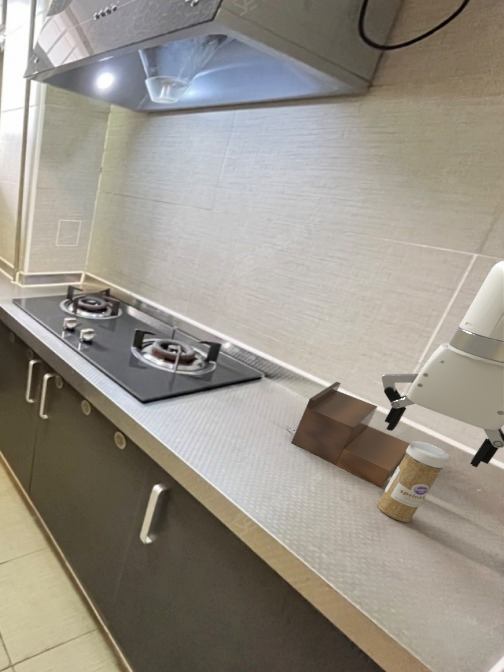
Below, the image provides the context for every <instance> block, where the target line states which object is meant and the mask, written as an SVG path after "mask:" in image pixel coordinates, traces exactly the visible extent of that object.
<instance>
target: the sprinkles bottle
mask: <svg viewBox="0 0 504 672" xmlns="http://www.w3.org/2000/svg"><path fill="white" fill-rule="evenodd" d="M409 443H410V445H409V446H408V448H407V450H406V454H405V455H404V457H403V458H402V459H401V461H400V462H399V465H397V466H396V469H395V470H394V472H393V475H391V478H390V480H389V482H388V483H387V484H386V487H385V489H384V492H383V493H382V495H381V496H380V499H379V500H378V501H377V502H376V506H377V507H378V509H379V510H380V511H381V512H382V513H384V514H385V515H386V516H387V517H390V518H391V519H393V520H397V521H400V522H402V523H409V522H411V521H412V520H413V517H414V515H415V513H416V512H417V510H418V509H419V507H420V506H421V505H422V504H423V502H424V500H425V499H426V497H427V495H428V494H429V491H430V489H432V486H433V485H434V482H435V481H436V480H437V478H438V476H439V474H440V473H441V471H442V470H443V469H444V468H446V466H447V465H448V464H449V462H450V460H451V456H450V455H449V453H448V452H446V451H445V450H443V449H441V448H440V447H437V446H436V445H433V444H431V443H427V442H424V441H419V440H414V441H411V442H409Z"/></svg>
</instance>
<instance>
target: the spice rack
mask: <svg viewBox="0 0 504 672" xmlns="http://www.w3.org/2000/svg"><path fill="white" fill-rule="evenodd" d="M340 386H341V382H339V381H335V382H334V383H332V384H330V385H329V386H327V387H326V388H324V389H323V390H321V391H319V392H318V393H316V394H315V395H314V396H312V397H310V398H309V399H308V402H307V404H306V407H305V409H304V411H303V414H302V416H301V418H300V421H299V423H298V425H297V427H296V429H295V432H294V434H293V437H292V438H291V439H292V440H291V442H290V443H291V444H293V445H295V446H297V447H299V448H301V449H302V450H305V451H306V452H309V453H311V454H313V455H315V456H317V457H319V458H321V459H323V460H324V461H327V462H329V463H331V464H333V465H335V466H336V467H339V468H340V469H342V470H345V471H346V472H349V473H351V474H352V475H354V476H356V477H359V478H360V479H362V480H365V481H366V482H368V483H371V484H372V485H375V486H377V487H378V488H380V489H381V488H382V487H383V485H385V483H386V482H387V481H388V479H389V478H390V477H391V474H392V472H393V471H395V468H397V467H398V464H400V463H401V461H402V460H403V459H404V456H405V455H406V450H407V448H408V446H409V445H410V443H411V442H408V441H406V440H403V439H400V438H398V437H396V436H394V435H391V434H389V433H387V432H384V431H381V430H379V429H376V428H374V427H372V426H370V423H371V420H372V419H373V417H374V415H375V412H376V411H377V409H378V405H375V404H372V403H370V402H368V401H365V400H362V399H360V398H357V397H354V396H352V395H349V394H347V393H344V392H341V391H339V388H340Z"/></svg>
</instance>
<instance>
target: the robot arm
mask: <svg viewBox="0 0 504 672" xmlns="http://www.w3.org/2000/svg"><path fill="white" fill-rule="evenodd" d="M381 381H382V386H383V393H384V394H385V396H386V397H387V399H388V401H389V402H390V406H391V408H390V410H389V412H388V414H387V416H385V419H384V422H385V423H387V424H388V425H387V427H386V430H387V431H390V432H393V430H395V429H396V427H397V426H398V424H399V423H400V420H401V419H402V417H403V416H404V414H405V412H406V410H407V407H408V406H413V405H417V406H419V407H422V408H425V409H427V410H430V411H432V412H435V413H437V414H441V415H443V416H446V417H449V418H451V419H454V420H456V421H460V422H463V423H465V424H468V425H471V426H474V427H476V428H479V429H483V431H484V432H485V435H486V436H487V438H485V439H484V441H483V442H482V444H481V445H480V447H479V448H478V449H477V451H476V453H475V454H474V455H473V457H472V459H471V461H470V463H469V464H470V465H471V466H472V467H475V468H478V466H479V465H480V464H481V463H484V464H489V463H490V461H491V460H492V459H493V458H494V456H495V455H496V453H497V451H498V450H499V449H503V448H504V430H503V429H502V428H503V427H504V260H500V261H499V262H497V263H496V264H494V265H493V266H492V267H491V268H490V271H489V272H488V273H487V276H486V278H485V280H484V281H483V283H482V284H481V286H480V288H479V290H478V292H477V293H476V295H475V297H474V299H473V301H472V302H471V304H470V306H469V308H468V309H467V311H466V313H465V314H464V317H463V318H462V320H461V322H460V324H459V325H458V327H457V329H456V331H455V332H454V334H453V336H452V338H451V339H450V341H449V343H447V342H443V343H441V344H439V346H438V347H436V349H435V350H434V352H433V353H432V354H431V355H430V356H429V358H428V359H427V361H426V362H425V364H424V365H423V366H422V367H421V370H420V371H419V372H418V373H385V374H384V375H382V377H381ZM397 383H400V384H401V383H402V384H403V383H406V384H408V383H409V384H411V385H410V388H409V389H408V392H407V394H404V395H401V394H400V393H399V391H398V389H397V388H396V384H397Z"/></svg>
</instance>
